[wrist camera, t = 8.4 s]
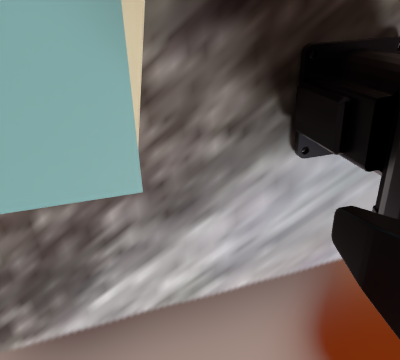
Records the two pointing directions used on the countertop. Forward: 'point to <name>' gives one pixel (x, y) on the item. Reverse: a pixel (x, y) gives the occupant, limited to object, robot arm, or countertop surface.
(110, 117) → the teal cube
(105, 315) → the countertop surface
